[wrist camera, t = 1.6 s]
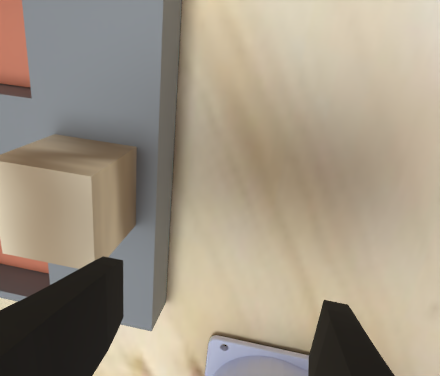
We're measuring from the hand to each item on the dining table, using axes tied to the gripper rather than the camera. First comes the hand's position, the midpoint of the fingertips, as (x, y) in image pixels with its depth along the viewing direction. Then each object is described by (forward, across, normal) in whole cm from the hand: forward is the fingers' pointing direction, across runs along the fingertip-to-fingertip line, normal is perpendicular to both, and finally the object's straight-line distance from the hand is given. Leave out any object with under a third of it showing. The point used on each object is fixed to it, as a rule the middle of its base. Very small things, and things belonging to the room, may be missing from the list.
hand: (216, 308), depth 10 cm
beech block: (+7, +7, 0) cm, 10 cm away
